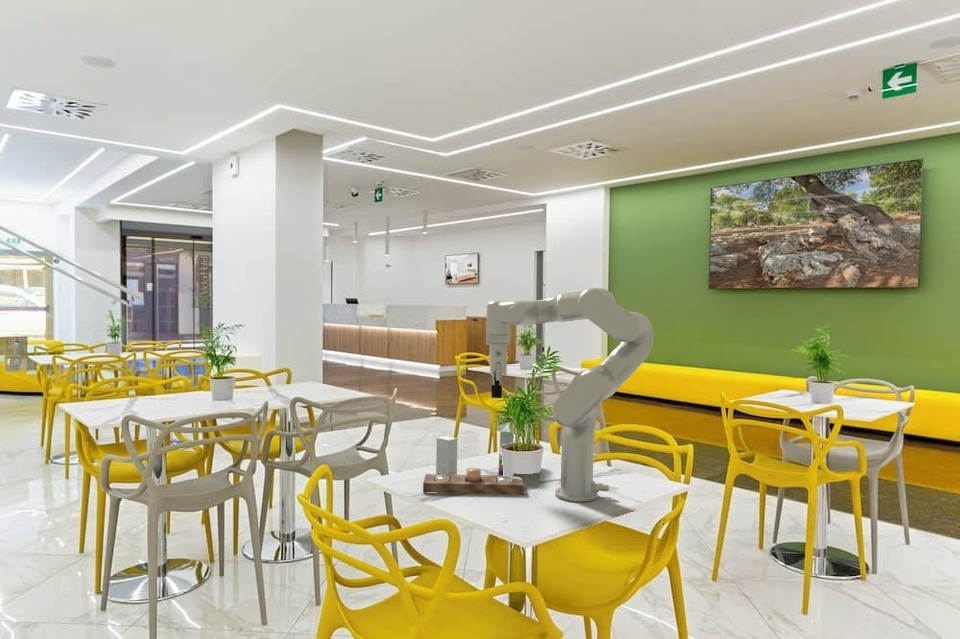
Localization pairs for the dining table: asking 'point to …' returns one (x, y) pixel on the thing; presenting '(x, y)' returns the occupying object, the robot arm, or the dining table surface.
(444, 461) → the skincare box
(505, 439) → the snack box
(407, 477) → the dining table surface
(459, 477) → the walnut mount
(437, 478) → the steel knob
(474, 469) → the peach knob
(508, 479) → the steel knob
